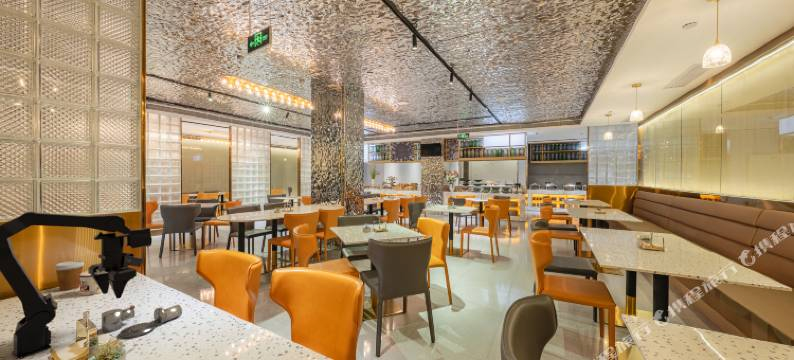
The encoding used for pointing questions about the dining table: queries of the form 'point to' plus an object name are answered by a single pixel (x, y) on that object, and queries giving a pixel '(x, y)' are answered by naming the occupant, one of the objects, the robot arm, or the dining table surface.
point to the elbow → (116, 318)
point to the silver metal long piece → (152, 322)
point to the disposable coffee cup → (69, 274)
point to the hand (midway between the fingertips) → (112, 295)
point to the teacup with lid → (88, 284)
